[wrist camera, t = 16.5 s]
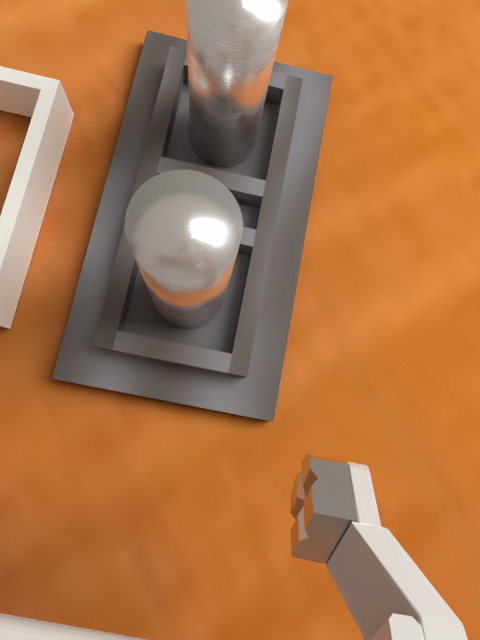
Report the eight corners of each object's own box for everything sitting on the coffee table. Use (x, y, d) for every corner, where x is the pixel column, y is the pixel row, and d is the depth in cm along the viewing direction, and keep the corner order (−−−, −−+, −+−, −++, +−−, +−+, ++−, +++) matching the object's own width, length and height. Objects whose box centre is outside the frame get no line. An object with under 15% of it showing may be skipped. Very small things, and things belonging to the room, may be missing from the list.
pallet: (327, 86, 29) (339, 58, 27) (270, 420, 25) (278, 423, 23) (148, 43, 29) (144, 9, 26) (57, 379, 24) (42, 377, 22)
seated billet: (260, 115, 27) (297, -44, 17) (248, 174, 26) (280, 41, 17) (197, 100, 27) (198, -70, 17) (183, 159, 26) (175, 14, 16)
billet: (230, 267, 25) (252, 183, 16) (216, 335, 25) (231, 291, 15) (161, 252, 25) (140, 158, 15) (145, 320, 24) (111, 266, 15)
